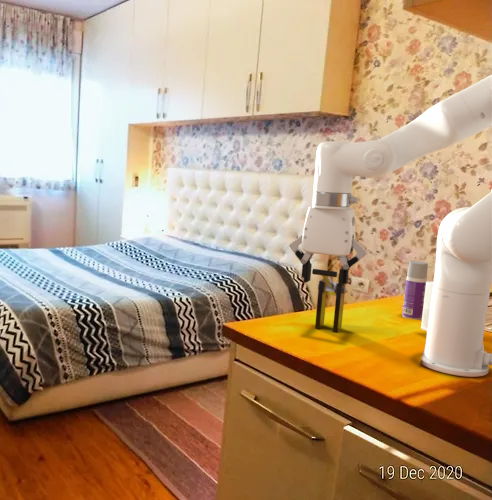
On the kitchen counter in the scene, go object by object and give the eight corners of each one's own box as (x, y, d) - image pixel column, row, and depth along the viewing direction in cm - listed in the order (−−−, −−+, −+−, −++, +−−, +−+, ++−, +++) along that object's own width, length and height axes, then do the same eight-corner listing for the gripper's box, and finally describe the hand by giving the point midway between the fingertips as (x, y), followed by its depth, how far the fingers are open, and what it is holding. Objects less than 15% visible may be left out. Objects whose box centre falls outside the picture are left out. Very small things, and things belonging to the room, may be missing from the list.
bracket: (340, 343, 114) (346, 287, 112) (304, 336, 118) (309, 282, 116) (349, 332, 122) (355, 279, 120) (315, 326, 126) (320, 275, 124)
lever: (335, 278, 108) (337, 268, 109) (311, 275, 111) (313, 265, 111) (343, 297, 118) (345, 287, 118) (320, 293, 120) (322, 284, 121)
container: (424, 320, 134) (431, 264, 132) (405, 319, 135) (411, 263, 133) (418, 315, 139) (425, 261, 136) (400, 314, 140) (406, 260, 137)
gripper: (378, 203, 106) (369, 287, 109) (295, 198, 116) (289, 275, 118) (372, 204, 100) (363, 293, 103) (285, 199, 109) (278, 281, 112)
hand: (323, 283), depth 111 cm, fingers open, 6 cm apart
